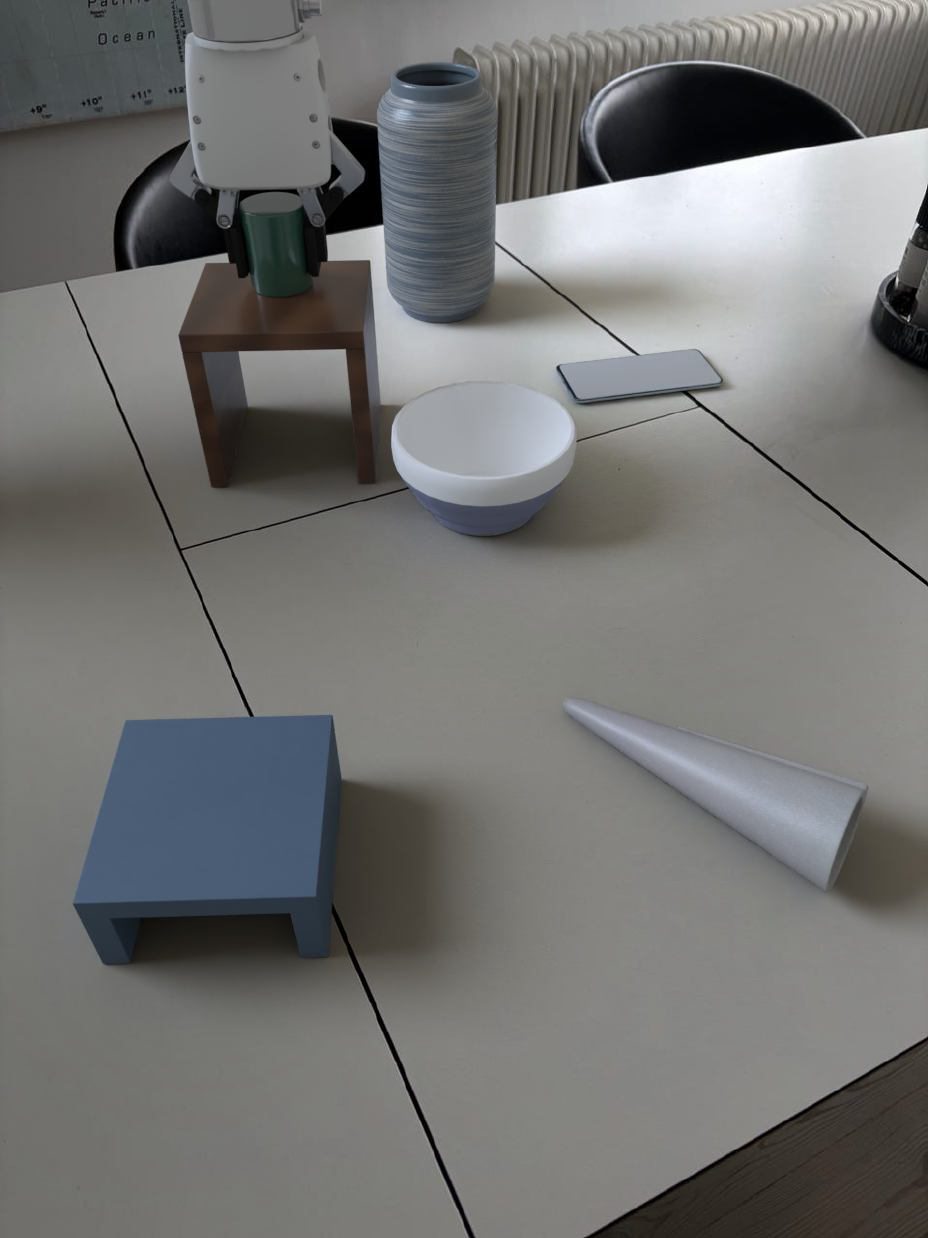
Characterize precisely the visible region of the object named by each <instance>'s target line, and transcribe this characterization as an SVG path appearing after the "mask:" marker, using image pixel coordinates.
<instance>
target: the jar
mask: <svg viewBox="0 0 928 1238" xmlns="http://www.w3.org/2000/svg"><path fill="white" fill-rule="evenodd" d="M238 210H239V211H240V216H241V223H242V229H243V235H244V242H245V248H246V254H247V261H248V267H249V274H250V280H251V286H252V289H253V290H254V291H255V292H256V293H258V294H260V295H263V296H268V297H288V296H293V295H297V294H300V293H303V292H305V291H306V290H308V289H309V288H310V287H311V286H312V284H313V277H312V275H309V267H308V259H307V250H306V241H305V233H304V228H305V224H306V219H307V213H306V210H305V208H304V205H303V203H302V201H301V198H300V196H299V195H298V194H294V193H290V192H283V191H269V192H261V193H257V194H253V195H250V196H248V197H246V198H244V199H243V200H242V201H240V203H239V204H238Z"/></svg>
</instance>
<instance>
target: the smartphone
mask: <svg viewBox="0 0 928 1238" xmlns="http://www.w3.org/2000/svg"><path fill="white" fill-rule="evenodd" d="M555 370H556V373H557V374H558V376H559V377H560V380H561V382H562V384H563V385H564V386H565V388H566V390H567V392H568V393H569V395H570V397H571V399H572V400H573V401H574V402H575V403H577V404H585V403H594V402H602V401H611V400H618V399H626V398H635V397H642V396H650V395H658V394H659V395H660V394H667V393H676V392H683V391H691V390H698V389H709V388H716V387H720V386H722V385H723V383H724V379H723V378H722V376H721V375H720V374H719V372H718V371H717V370H716V368H714V366H713V365H712V364H711V362H710V361H708V359H707V357H705V355H704V354H703V353H702V352H701V351H700V350H699V349H697V348H689V349H681V350H672V351H671V350H670V351H664V352H655V353H646V354H636V355H627V356H620V357H611V358H603V359H595V360H585V361H577V362H568V363H560V364H558V365H556V367H555Z"/></svg>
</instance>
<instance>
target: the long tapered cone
mask: <svg viewBox="0 0 928 1238" xmlns="http://www.w3.org/2000/svg"><path fill="white" fill-rule="evenodd" d="M562 708H563V710H564V712H565V713H566V714H567V715H568V716H569V717H571V718H572V719H573V720H574V721H576V722H578V723H579V724H580V725H582V726H583V727H585V728H586V729H587V730H588V731H590V732H591V733H593V734H594V735H596V736H597V737H599V738H600V739H602V741H604V742H606V743H607V744H609V745H610V746H612V748H614V749H616V750H617V751H618V752H620V753H622V754H623V755H624V756H626V757H628V758H629V759H631V760H632V761H634V762H635V763H637V764H638V766H641V767H642V768H644V769H645V770H647V771H648V772H649V773H651V774H653V775H654V776H656V777H657V778H659V779H660V780H661V781H663V782H664V783H666V784H667V785H669V786H670V787H672V788H673V789H674V790H676V791H677V792H678V793H680V794H682V795H684V796H685V797H687V798H688V799H689V800H691V801H692V802H694V803H695V804H697V805H698V806H699V807H701V808H702V809H704V810H706V811H707V812H708V813H710V814H711V815H713V816H714V817H716V818H717V819H719V821H721V822H723V823H724V824H726V825H727V826H729V827H730V828H732V829H733V830H735V831H736V832H737V833H739V834H740V835H742V836H743V837H745V838H747V839H748V840H749V841H751V842H752V843H754V844H755V845H757V846H758V847H760V848H761V849H763V850H764V851H766V852H767V853H768V854H770V855H772V856H773V857H774V858H775V859H777V860H778V861H780V862H781V863H783V864H784V865H785V866H786V867H788V868H790V869H792V870H793V871H794V872H796V873H797V874H799V875H800V876H801V877H803V878H805V880H807V881H809V882H811V883H812V884H813V885H815V886H816V887H818V888H819V889H821V890H823V892H825V893H829V892H830V891H831V890H832V888H833V886H834V885H835V883H836V881H837V879H838V877H839V875H840V872H841V871H842V868H843V866H844V863H845V861H846V858H847V856H848V853H849V850H850V848H851V845H852V842H853V840H854V837H855V834H856V831H857V829H858V828H859V824H860V821H861V817H862V813H863V810H864V807H865V802H866V799H867V795H868V791H869V785H868V784H866V783H863V782H860V781H857V780H854V779H851V778H847V777H844V776H842V775H841V776H840V775H838V774H835V773H832V772H828V771H825V770H822V769H818V768H816V767H812V766H808V765H805V764H802V763H799V762H795V761H794V760H793V761H792V760H789V759H786V758H783V757H779V756H776V755H773V754H770V753H767V752H763V751H760V750H757V749H753V748H750V747H746V746H743V745H741V744H737V743H734V742H730V741H729V740H725V739H721V738H718V737H714V736H711V735H709V734H704V733H702V732H698V731H695V730H692V729H689V728H685V727H683V726H677V727H676V728H674V727H671V726H668V725H665V724H662V723H658V722H655V721H653V720H650V719H646V718H644V717H640V716H638V715H634V714H631V713H628V712H626V711H625V712H624V711H621V710H618V709H615V708H612V707H609V706H606V705H604V704H602V703H598V702H596V701H593V700H590V699H589V700H588V699H585V698H580V697H579V698H578V697H573V696H572V697H571V696H569V697H567V698H566V699H564V701H563V704H562Z"/></svg>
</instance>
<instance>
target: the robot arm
mask: <svg viewBox="0 0 928 1238" xmlns="http://www.w3.org/2000/svg"><path fill="white" fill-rule="evenodd" d="M187 5H188V11H189V17H190V22H191V23H190V24H191V28H192V32H189V33H187V34H186V36H185V40H184V73H185V74H184V77H185V92H186V93H185V94H186V104H187V114H188V115H187V117H188V123H189V124H188V125H189V135H190V141H189V142H188V144H187V146H186V147H185V149H184V150H183V153H182V154H181V156H180V158H179V160H178V161H177V162H176V164H175V166H174V168H173V170H172V171H171V174H170V175H169V178H168V180H169V184H170V185H171V186H172V187H173V188H175V189H176V190H177V191H179V192H181V193H182V194H184V195H185V196H187V198H189V199H192V200H193V201H194V202H195V203H196V205H198V206H199V207H200V208H201V209H203V211H204V212H205V213H206V214H208V215H209V216H210V217H212V219H214V220H215V221H216V224H217V225H218V227H219V228H221V229H223V235H224V242H225V247H226V254H227V260H228V263H230V264H236V267H237V273H238V278H246V276H248V274H249V267H248V261H247V254H246V248H245V242H244V235H243V229H242V223H241V216H240V210H239V208H238V207H239V199H240V191H265V190H267V191H268V190H269V191H270V190H296V191H297V193H298V196H299V197H300V198H301V201H302V203H303V205H304V208H305V214H306V224H305V228H304V233H305V241H306V250H307V259H308V267H309V275H312V277H319V272H320V267H321V262H327V261H329V260H328V259H329V249H328V239H327V230H326V221H327V219H329V217H331V215H332V214H333V212H334V211H336V210H337V208H338V207H339V206H340V205H341V204H342V202H343V201H344V199H346V198H347V197H348V196H349V195H351V194H352V193H353V192H354V191H355V190H356V189H357V188H358V187H360V185H362V184H363V183H364V181H365V176H366V169H365V168H364V167H363V165H361V163H360V162H359V161H358V160H357V159H356V157H355V156H354V155H353V154H352V153H351V151H350V150H349V149H348V148H347V147H346V146H345V145H344V144H343V143H342V141H341V140H340V139H339V138H338V136H336V134H335V133H334V130H333V124H332V115H331V108H330V102H329V94H328V88H327V82H326V76H325V70H324V66H323V61H322V57H321V52H320V48H319V45H318V41H317V38H316V34H315V32H314V30H312V29H309V28H303V24H305V23H306V21H307V19H312V17H322V16H323V15H322V14H323V12H322V11H323V10H322V9H323V8H322V0H187ZM332 165H334V166H335V167H336V168H337V170H338V171H339V172H340V175H339V176H338V177H337V178H336V179H335V180H333V181H331V183H330V184H329V185H328V186H327V187H326V188H325V189H324V191H323V190H322V187H321V186H324V185H326V183H328V182H329V180H330V179H331V176H332V175H331V174H332ZM195 171H196V174H195ZM218 190H219V192H218Z"/></svg>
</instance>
